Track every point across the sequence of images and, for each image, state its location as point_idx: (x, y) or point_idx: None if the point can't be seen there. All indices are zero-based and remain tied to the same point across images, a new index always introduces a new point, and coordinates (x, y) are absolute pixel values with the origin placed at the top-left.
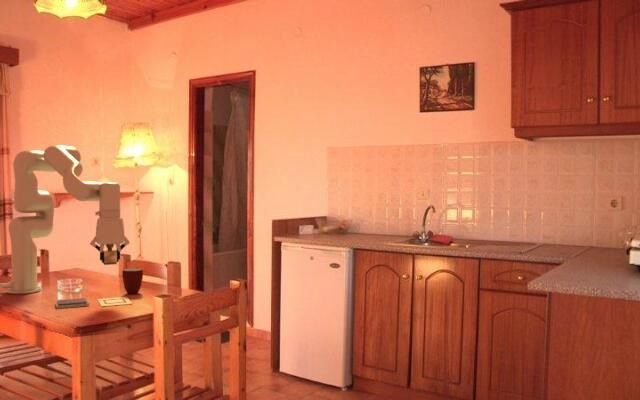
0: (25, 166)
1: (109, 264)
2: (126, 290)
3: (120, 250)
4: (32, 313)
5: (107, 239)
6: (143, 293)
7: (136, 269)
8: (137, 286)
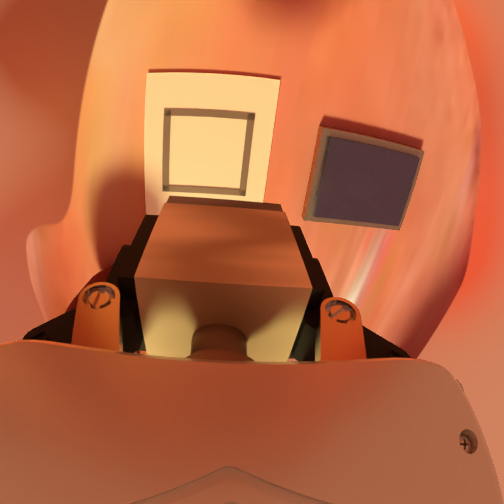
0: None
1: (235, 200)
2: None
3: (90, 296)
4: (477, 128)
5: (318, 451)
6: (88, 264)
7: None
8: (97, 275)
